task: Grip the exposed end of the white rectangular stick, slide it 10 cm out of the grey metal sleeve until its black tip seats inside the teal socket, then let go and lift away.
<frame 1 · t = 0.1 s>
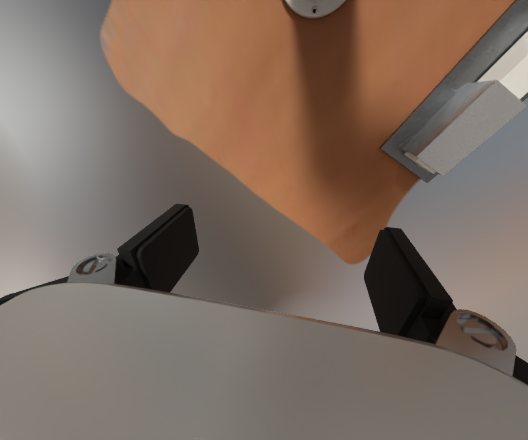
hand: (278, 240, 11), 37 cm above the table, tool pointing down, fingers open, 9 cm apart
white rectangular stick: (489, 97, 31), point 4 cm above the table, slide at 0.0 cm
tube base: (525, 46, 30), on the table
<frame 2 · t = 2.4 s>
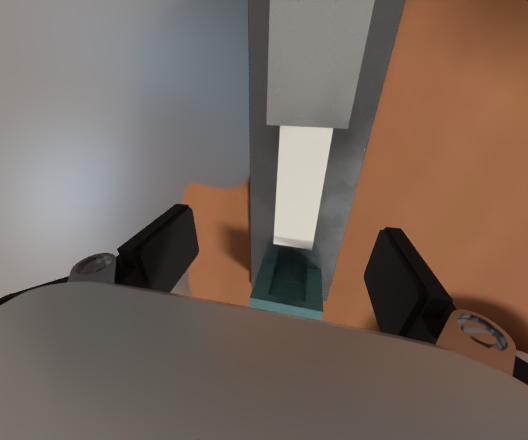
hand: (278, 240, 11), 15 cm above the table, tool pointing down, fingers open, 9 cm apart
white rectangular stick: (308, 116, 18), point 4 cm above the table, slide at 0.0 cm
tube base: (300, 185, 24), on the table
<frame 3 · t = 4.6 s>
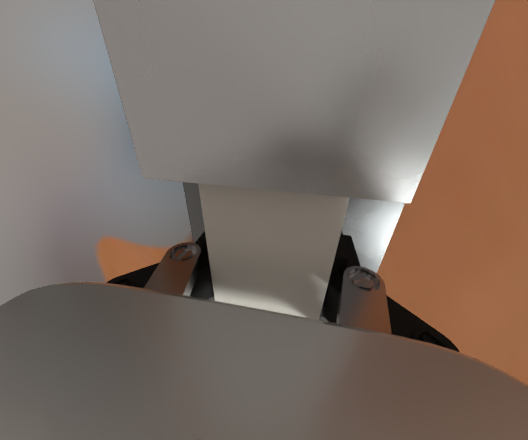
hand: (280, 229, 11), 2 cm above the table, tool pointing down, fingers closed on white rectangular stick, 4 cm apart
white rectangular stick: (282, 139, 7), point 4 cm above the table, slide at 0.0 cm, touching gripper
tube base: (280, 249, 14), on the table
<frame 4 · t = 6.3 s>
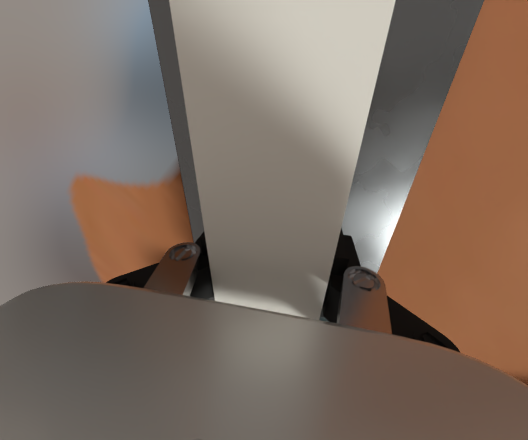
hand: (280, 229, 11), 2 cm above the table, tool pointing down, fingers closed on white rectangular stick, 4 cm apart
white rectangular stick: (281, 140, 7), point 4 cm above the table, slide at 5.2 cm, touching gripper
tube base: (286, 174, 11), on the table
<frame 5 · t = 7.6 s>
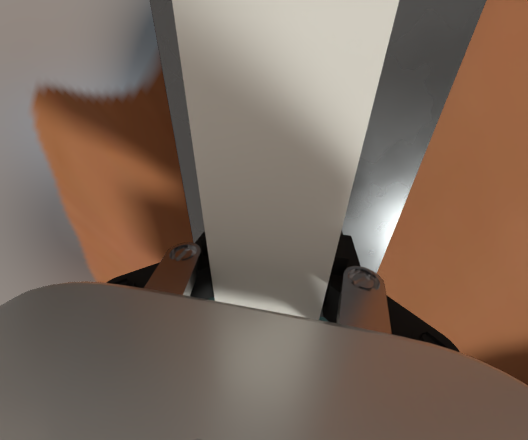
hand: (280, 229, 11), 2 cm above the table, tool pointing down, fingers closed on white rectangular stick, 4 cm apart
white rectangular stick: (282, 139, 7), point 4 cm above the table, slide at 10.2 cm, touching gripper
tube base: (296, 59, 9), on the table
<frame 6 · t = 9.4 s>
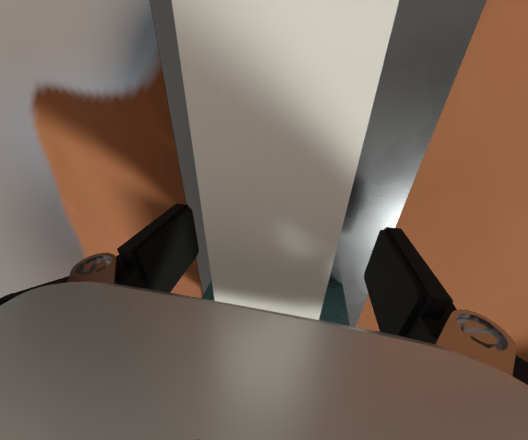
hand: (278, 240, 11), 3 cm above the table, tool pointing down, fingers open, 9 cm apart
white rectangular stick: (282, 139, 7), point 4 cm above the table, slide at 10.2 cm
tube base: (296, 58, 9), on the table
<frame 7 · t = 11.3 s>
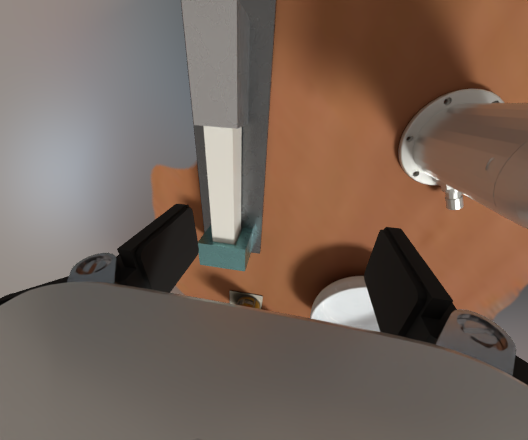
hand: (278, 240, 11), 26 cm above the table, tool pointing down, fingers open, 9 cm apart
serving bowl: (355, 296, 47), on the table
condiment: (245, 301, 54), on the table
white rectangular stick: (225, 188, 34), point 4 cm above the table, slide at 10.2 cm
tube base: (231, 166, 36), on the table
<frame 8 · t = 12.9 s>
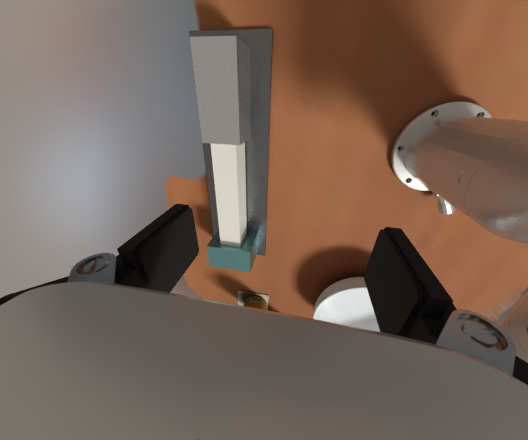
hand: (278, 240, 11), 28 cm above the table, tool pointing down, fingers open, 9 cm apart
serving bowl: (357, 297, 49), on the table
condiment: (253, 300, 57), on the table
white rectangular stick: (231, 196, 38), point 4 cm above the table, slide at 10.2 cm
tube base: (237, 176, 40), on the table
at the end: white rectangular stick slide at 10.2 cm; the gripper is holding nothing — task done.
